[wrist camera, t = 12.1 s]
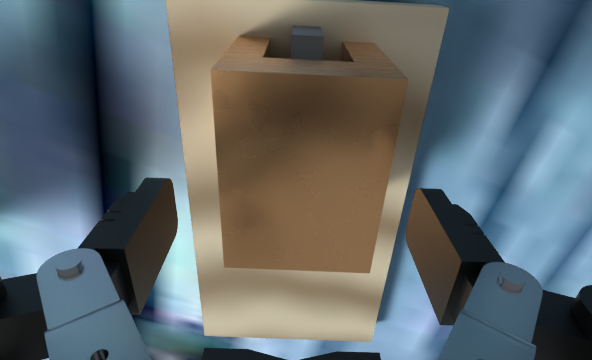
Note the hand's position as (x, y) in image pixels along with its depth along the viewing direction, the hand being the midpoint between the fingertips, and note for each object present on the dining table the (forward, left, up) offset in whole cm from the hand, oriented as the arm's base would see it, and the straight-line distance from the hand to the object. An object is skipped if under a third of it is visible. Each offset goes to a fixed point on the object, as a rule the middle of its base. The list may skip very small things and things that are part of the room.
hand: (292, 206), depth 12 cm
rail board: (-5, 0, -9) cm, 10 cm away
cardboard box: (0, 0, -7) cm, 7 cm away
